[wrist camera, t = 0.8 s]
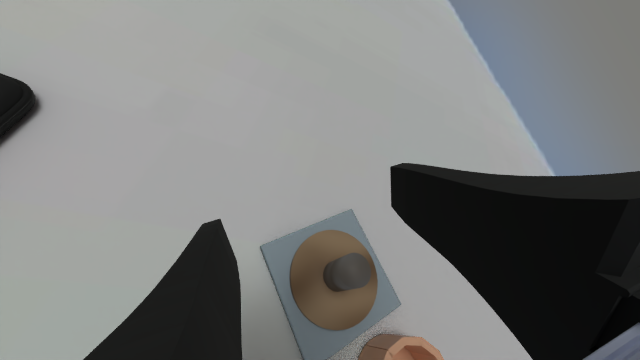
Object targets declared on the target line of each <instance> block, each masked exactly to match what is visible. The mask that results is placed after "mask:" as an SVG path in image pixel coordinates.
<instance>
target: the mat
mask: <svg viewBox="0 0 640 360" xmlns="http://www.w3.org/2000/svg"><path fill="white" fill-rule="evenodd" d="M325 230H338V231H342V232H345V233H348V234H350V235H351V236H353V237H355V238H356V239H357V240H358V241H360V242H361V243H362V244H363V246H364V247H365V248H366V249H367V251H368V252H369V254H370V256H371V257H372V260H373V262H374V265H375V268H376V272H377V280H378V287H377V295H376V299H375V302H374V305H373V307H372V309H371V311H370V312H369V314H368V315H367V316H366V317H365V318H364V320H362V321H361V322H360V323H359V324H357V325H355V326H354V327H351V328H349V329H345V330H329V329H325V328H321V327H319V326H317V325H315V324H314V323H312V322H311V321H309V320H308V319H307V318H306V317H305V316H304V315H303V314H302V312H301V311H300V310H299V308H298V307H297V305H296V303H295V301H294V299H293V296H292V293H291V288H290V279H289V278H290V267H291V263H292V259H293V257H294V255H295V253H296V251H297V249H298V248H299V247H300V245H301V244H302V243H303V242H304V241H305V240H306V239H308V238H309V237H310V236H312V235H314V234H315V233H318V232H321V231H325ZM260 248H261V251H262V254H263V256H264V259H265V261H266V264H267V267H268V269H269V272H270V274H271V277H272V280H273V282H274V285H275V287H276V290H277V292H278V295H279V298H280V300H281V303H282V305H283V308H284V311H285V313H286V316H287V318H288V321H289V324H290V326H291V329H292V331H293V334H294V336H295V339H296V342H297V344H298V347H299V349H300V352H301V355H302V357H303V360H327V359H328V358H330V357H331V356H332V355H334V354H335V353H336V352H338V351H339V350H340V349H342V348H343V347H344V346H346V345H347V344H349V343H350V342H351V341H353V340H354V339H355V338H357V337H358V336H359V335H361V334H362V333H363V332H365V331H366V330H368V329H369V328H370V327H372V326H373V325H374V324H376V323H377V322H378V321H380V320H381V319H382V318H384V317H385V316H387V315H388V314H389V313H391V312H392V311H393V310H395V309H396V308H397V307H399V306H400V305H401V303H400V301H399V299H398V297H397V295H396V293H395V291H394V289H393V287H392V285H391V283H390V281H389V280H388V278H387V276H386V274H385V272H384V270H383V268H382V266H381V264H380V262H379V260H378V258H377V256H376V255H375V253H374V251H373V249H372V247H371V245H370V243H369V241H368V239H367V237H366V235H365V233H364V231H363V229H362V228H361V226H360V224H359V222H358V220H357V218H356V216H355V214H354V212H353V210H352V209H350V210H348V211H345V212H343V213H340V214H338V215H335V216H333V217H330V218H328V219H326V220H323V221H321V222H318V223H316V224H313V225H311V226H308V227H306V228H303V229H301V230H299V231H296V232H294V233H291V234H289V235H286V236H284V237H281V238H279V239H276V240H274V241H271V242H269V243H267V244H264V245H262V246H260Z"/></svg>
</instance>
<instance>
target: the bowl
mask: <svg viewBox="0 0 640 360" xmlns="http://www.w3.org/2000/svg"><path fill="white" fill-rule="evenodd" d="M358 360H444V359H443V357H442V355H441V353H440V352H439V350H437V349H436V348H435V347H434V346H432V345H431V344H430V343H428V342H427V341H426V340H425V339H423V338H422V337H415V336H406V335H398V334H380V335H377V336H375V337H373V338H372V339H371V340H369V341H368V342H367V344H366V345H365V346H364V348H363V349H362V351H361V353H360V355H359V358H358Z"/></svg>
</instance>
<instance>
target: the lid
mask: <svg viewBox="0 0 640 360" xmlns="http://www.w3.org/2000/svg"><path fill="white" fill-rule="evenodd" d="M289 279H290V288H291V293H292V296H293V299H294V301H295V303H296V305H297V307H298V308H299V310H300V311H301V312H302V314H303V315H304V316H305V317H306V318H307V319H308V320H309V321H311V322H312V323H314V324H315V325H317V326H319V327H321V328H325V329H329V330H345V329H349V328H351V327H354V326H355V325H357V324H359V323H360V322H361V321H362V320H364V318H365V317H366V316H367V315H368V314H369V312H370V311H371V309H372V307H373V305H374V302H375V299H376V295H377V287H378V280H377V272H376V268H375V265H374V262H373V260H372V257H371V256H370V254H369V252H368V251H367V249H366V248H365V247H364V246H363V244H362V243H361V242H360V241H358V240H357V239H356V238H355V237H353V236H351V235H350V234H348V233H345V232H342V231H338V230H325V231H321V232H318V233H315V234H314V235H312V236H310V237H309V238H308V239H306V240H305V241H304V242H303V243H302V244H301V245H300V247H299V248H298V249H297V251H296V253H295V255H294V257H293V259H292V263H291V267H290V278H289Z"/></svg>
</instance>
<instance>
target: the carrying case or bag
mask: <svg viewBox="0 0 640 360" xmlns="http://www.w3.org/2000/svg"><path fill="white" fill-rule="evenodd" d="M34 102H35V95H34V93H33V91H32V90H31V88H30V87H29V86H28V85H27V84H25V83H24V82H22V81H19V80H17V79H14V78H12V77H9V76H6V75H3V74H1V73H0V137H1V136H2V135H3V134H4V133H5V132H7V131H8V130H9V129H10V128H11V127H12V126H13V125H14V124H16V123H17V122H18V121H19V120H20V119H21V118H22V117H23V116H24V115H25V114H26V113H27V112H28V111H29V110H30V109H31V108H32V107H33V105H34Z"/></svg>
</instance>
